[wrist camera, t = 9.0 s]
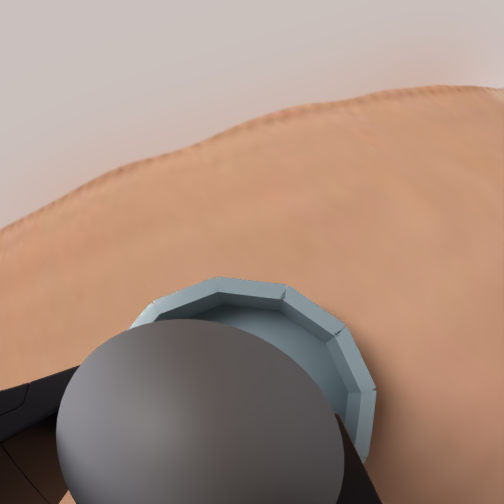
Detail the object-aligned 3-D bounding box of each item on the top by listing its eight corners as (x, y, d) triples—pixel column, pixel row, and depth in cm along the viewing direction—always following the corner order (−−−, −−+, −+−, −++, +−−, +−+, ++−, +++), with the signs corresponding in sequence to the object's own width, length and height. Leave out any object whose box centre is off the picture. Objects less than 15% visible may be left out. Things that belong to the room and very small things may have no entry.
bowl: (259, 547, 12) (259, 570, 9) (86, 413, 15) (60, 414, 13) (397, 378, 16) (420, 375, 13) (219, 254, 20) (212, 232, 17)
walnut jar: (207, 482, 12) (136, 591, 3) (160, 388, 14) (25, 373, 5) (308, 439, 13) (388, 510, 4) (257, 345, 15) (256, 270, 6)
